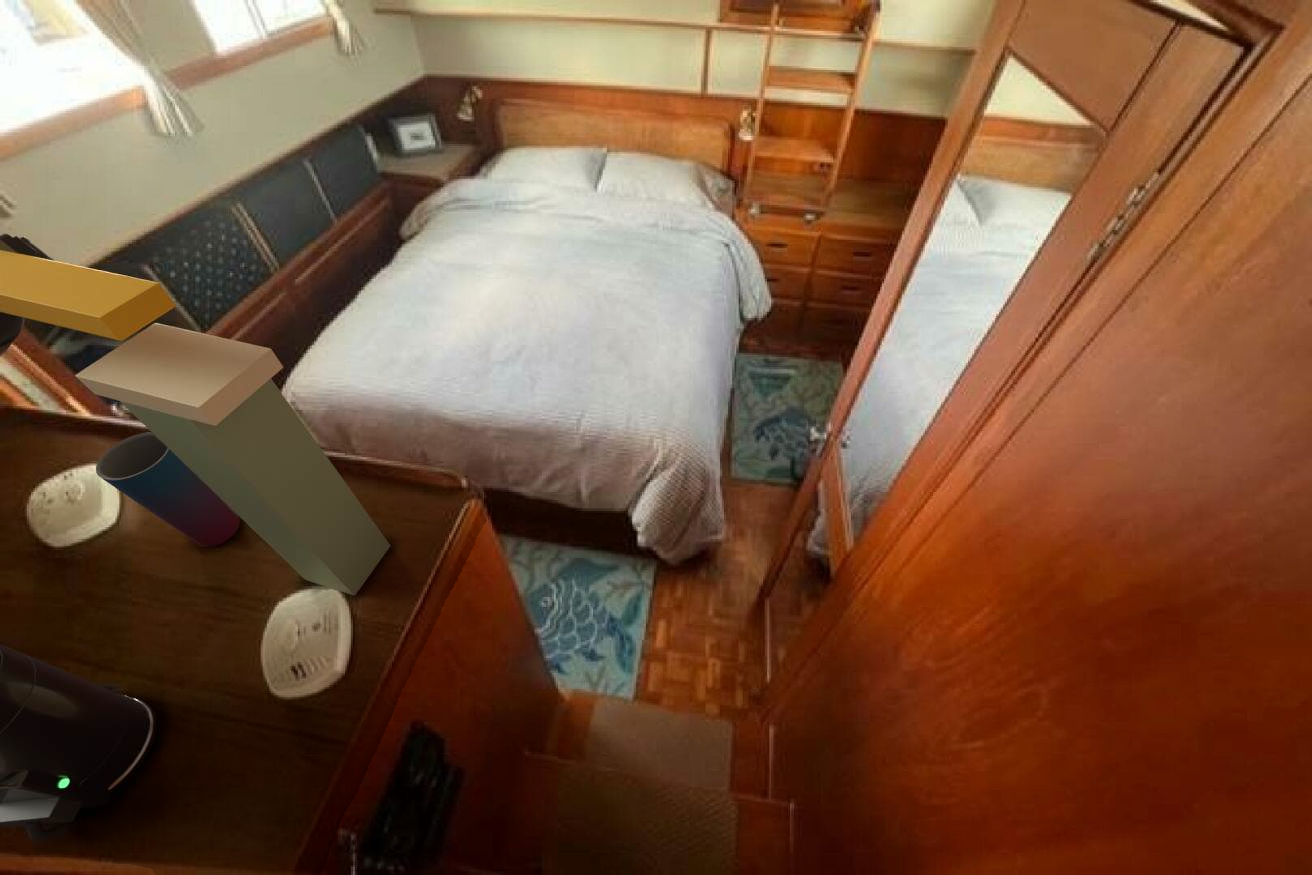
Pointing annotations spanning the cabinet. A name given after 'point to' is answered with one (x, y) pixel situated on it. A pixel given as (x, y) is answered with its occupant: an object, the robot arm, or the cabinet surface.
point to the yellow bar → (79, 296)
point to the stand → (244, 446)
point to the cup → (167, 489)
